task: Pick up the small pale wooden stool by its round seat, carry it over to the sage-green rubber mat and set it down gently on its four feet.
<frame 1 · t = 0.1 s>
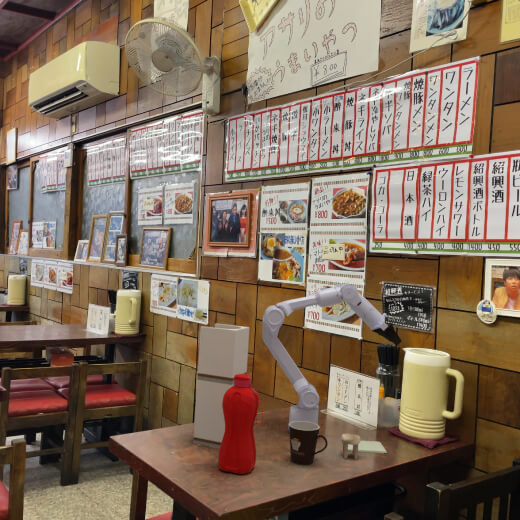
hand: (396, 341, 178), 32 cm above the table, tool tilted 50°, fingers open, 7 cm apart
rubber mat: (363, 447, 168), on the table
wooden stool: (349, 456, 159), on the table
coffee mug: (304, 463, 152), on the table
display case: (218, 442, 164), on the table
water bottle: (239, 469, 144), on the table
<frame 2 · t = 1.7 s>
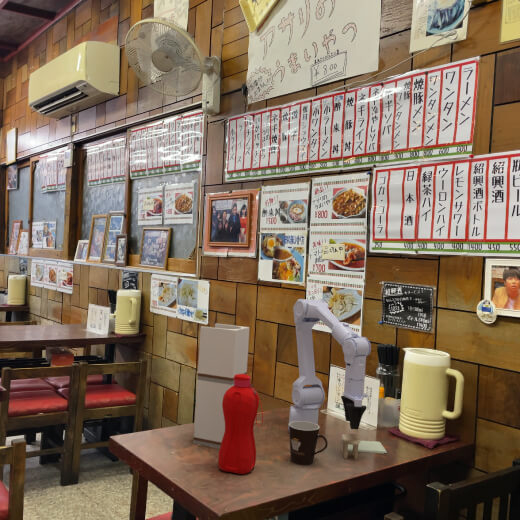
hand: (351, 424, 159), 9 cm above the table, tool pointing down, fingers open, 7 cm apart
nothing on the table moved.
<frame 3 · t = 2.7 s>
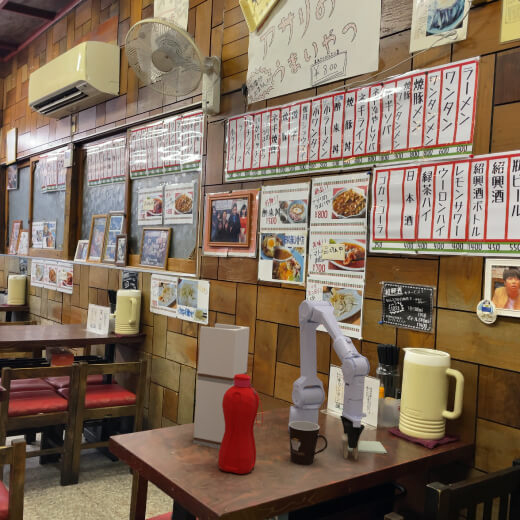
hand: (350, 444, 159), 4 cm above the table, tool pointing down, fingers closed on wooden stool, 5 cm apart
wooden stool: (349, 456, 159), on the table, touching gripper
everything else where it was.
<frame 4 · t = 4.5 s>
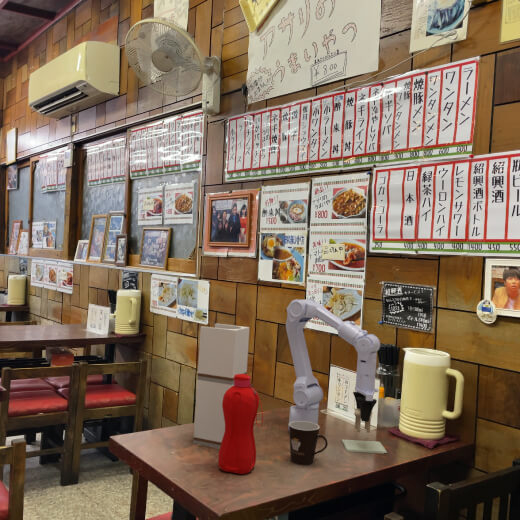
hand: (363, 418, 166), 9 cm above the table, tool pointing down, fingers closed on wooden stool, 5 cm apart
wooden stool: (362, 430, 166), point 6 cm above the table, touching gripper
everything else where it was.
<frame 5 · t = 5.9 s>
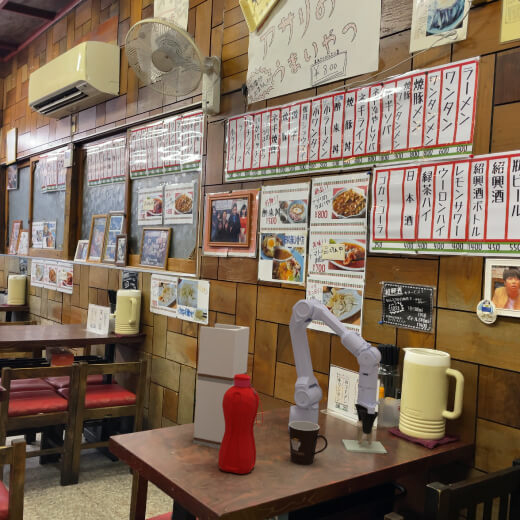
hand: (364, 430, 168), 5 cm above the table, tool pointing down, fingers closed on wooden stool, 5 cm apart
wooden stool: (364, 442, 168), point 2 cm above the table, touching gripper
everything else where it was.
when the fingers open (5 cm above the table, at t = 6.6 s): wooden stool stays where it is, resting on rubber mat.
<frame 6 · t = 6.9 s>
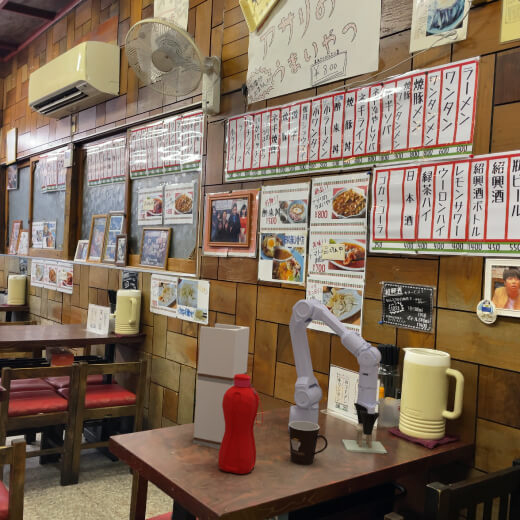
hand: (364, 430, 168), 5 cm above the table, tool pointing down, fingers open, 7 cm apart
wooden stool: (363, 445, 168), point 1 cm above the table, touching rubber mat
everything else where it was.
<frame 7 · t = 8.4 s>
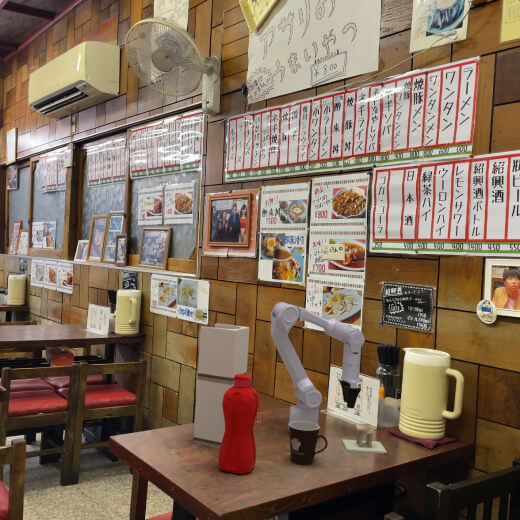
hand: (348, 404, 181), 9 cm above the table, tool pointing down, fingers open, 7 cm apart
nothing on the table moved.
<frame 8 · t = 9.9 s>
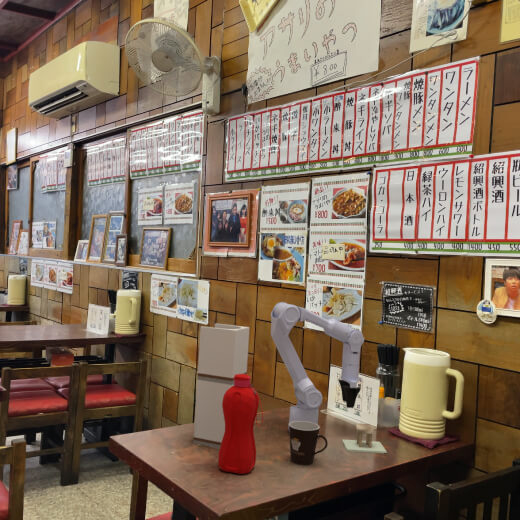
hand: (348, 404, 182), 9 cm above the table, tool pointing down, fingers open, 7 cm apart
nothing on the table moved.
at the end: wooden stool 0.0 cm off-centre on the rubber mat, point 0.6 cm above the rubber mat's base; wooden stool tilted 0°; the gripper is holding nothing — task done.
